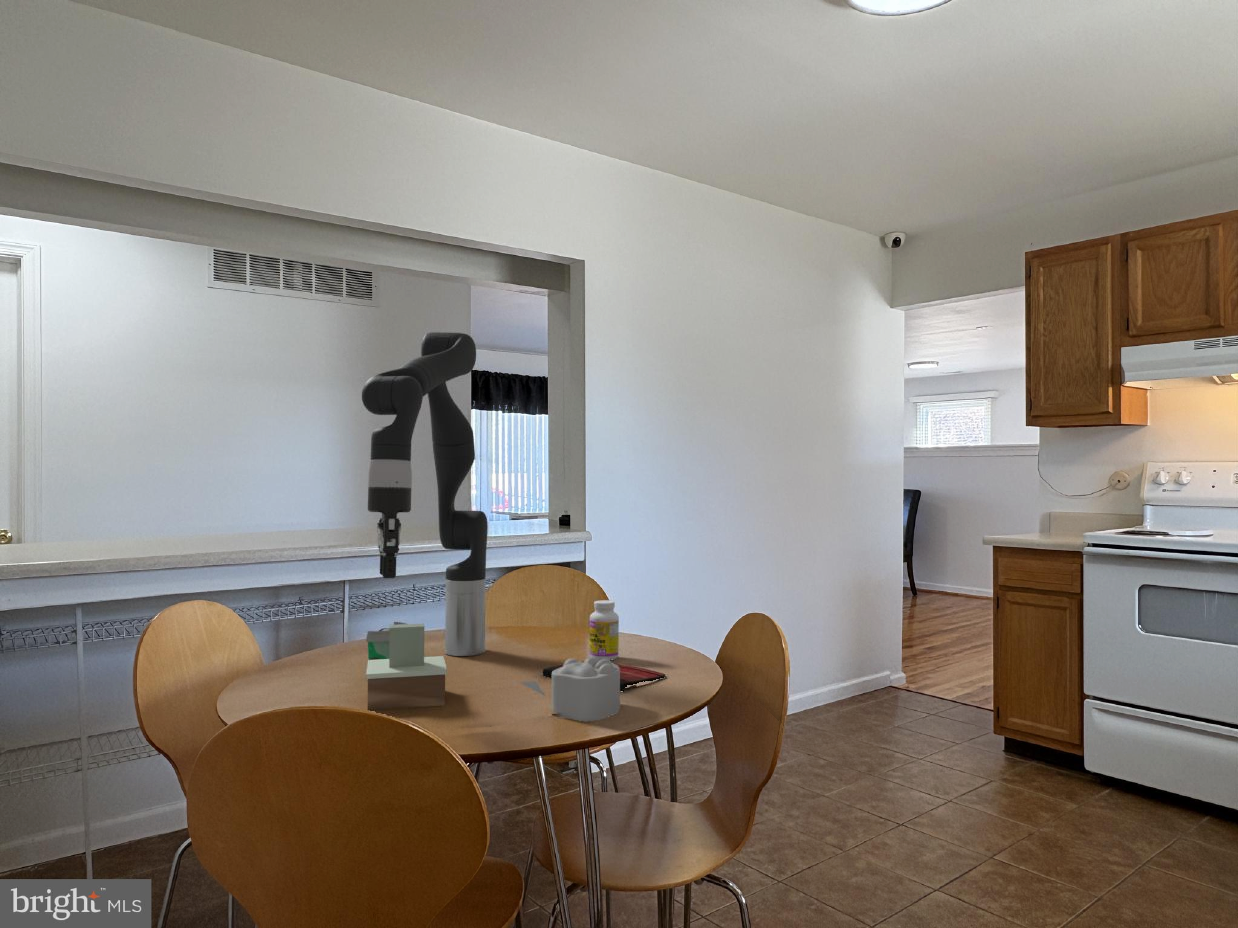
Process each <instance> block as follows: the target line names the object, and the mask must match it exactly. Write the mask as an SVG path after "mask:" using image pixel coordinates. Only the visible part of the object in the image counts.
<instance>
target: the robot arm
mask: <svg viewBox="0 0 1238 928" xmlns="http://www.w3.org/2000/svg"><path fill="white" fill-rule="evenodd" d="M421 340H422V341H421V345H420V347H421V348H420V356H418V357H416V358H413V359H411V360H409V361H407V362H406V363H404V364H403V365H401V366H400V367H399V368H396V369H393V370H391V369H390V370H388V371H385V372H381V373H378V374H375V375H373V376H371V377H370V378H369V379H367V381H366V382H365V384H364V385H363V387H362V390H361V400H362V401H361V402H362V404H363V406H364V408H365V409H366V410H367V411H368V412H369V413H371V414H373V415H379V416H391V415H392V416H395V418H394V420H393V422H392V423H391V424H389V425H386V426H382V427H379V428H376V429H374V430H373V431H372V433H371V439H370V463H369V470H368V483H367V484H368V486H367V487H368V488H367V489H368V491H367V511H368V512H370V513H380V514H381V517H380V518H379V521H378V522H377V523H376V532H377V539H376V540H377V546H378V547H377V548H378V554H379V574H380V575H381V576H382V578H384V579H395V578H396V575H397V557H398V555H399V551H400V548H399V546H400V543H401V530H402V523H401V521H400V517H398V514H399V513H410V512H411V511H412V486H413V485H412V483H413V481H412V479H413V477H412V476H413V471H412V462H411V461H412V439H413V435H414V431H415V428H416V423H417V420H418V417H419V414H420V411H421V408H422V404H423V398H424V397H425V396H427V399H428V405H429V415H430V425H431V426H430V428H431V441H432V442H431V443H432V451H433V460H434V467H435V476H436V482H437V483H436V485H437V496H438V497H437V502H438V504H437V506H438V507H437V508H438V509H437V510H438V534H439V541H440V545H442V546H441V547H443V548H444V549H445V550H451V551H452V550H454V551H455V550H456V551H458V550H462V551H464V550H465V551H466V550H467V551H470V554H469V556H468V557H467V558H466V559H464V560H462V561H459V562H458V563H455V564H451V565H449V566H447V568H446V570H445V609H444V610H445V611H444V612H445V616H444V617H445V618H444V619H445V622H444V623H445V624H444V625H445V630H444V631H445V632H444V633H445V634H444V635H445V636H444V641H445V642H444V652H445V654H446V655H449V656H454V657H467V656H468V657H469V656H476V655H481V654H484V653H485V652H486V576H487V575H486V570H487V545H488V531H489V530H488V527H489V526H488V519H487V517H488V516H487V514H485V512H484V511H482V510H456V509H455V500H456V496H457V494H458V491H459V489H460V487H461V486H462V484H463V482H464V480H465V479H466V477H467V476H468V474H469V473H470V470H471V468H473V467H472V466H473V464H474V462H475V460H476V451H475V449H476V448H475V437H474V431H473V430H474V429H473V428H472V426H471V424H470V421H469V420H468V419H467V417H466V416H465V414H463V412H462V410H461V409H460V408H459V407H458V405H457V403H455V401H454V399H453V397H452V396H451V393H450V392H449V389H448V386H447V382H449V381H452V380H454V379H456V378H458V377H460V376H465V375H468V374H469V373H471V371H472V370H473V369H474V368H475V365H476V361H477V348H476V343H475V341H474V339H473V337H472V336H470V335H469V334H467V333H463V332H440V331H439V332H438V331H437V332H434V331H433V332H427V333H425V334H424V336H423V338H422V339H421Z"/></svg>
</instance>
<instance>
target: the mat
mask: <svg viewBox="0 0 1238 928" xmlns="http://www.w3.org/2000/svg"><path fill="white" fill-rule="evenodd" d="M519 683H520V684H522V685H524V686H526V687H527V688H529V689H531V690H533V691H535V692H536V693H538V694H541V695H543V696H545V697H547V695H546V694H545V692H544V691H543V690H542V688H541V687H540V686H539V684H538V683H537V681H535V680H534V681H533V680H532V681H519Z"/></svg>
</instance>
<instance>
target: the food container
mask: <svg viewBox="0 0 1238 928" xmlns="http://www.w3.org/2000/svg"><path fill="white" fill-rule="evenodd" d="M400 624H408V623H407V622H403V621H393V625H400ZM365 642H366V643H367V653H368V655H367V656H368V660H378V659H389V646H390V627H386V628H385V627H383V628H381V629H379V630H367V634H366V639H365Z"/></svg>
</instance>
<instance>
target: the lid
mask: <svg viewBox="0 0 1238 928" xmlns="http://www.w3.org/2000/svg"><path fill="white" fill-rule="evenodd" d="M389 628H390V646H389V659H378V660H369V659H368V660H367V666H366V673H365V679H366V680H368V679H375V678H392V677H409V676H426V675H444V674H445V675H448V667H447V665H446V661H445V657H444V656H443V655H440V656H439V655H437V656H425V624H424V623H407V624H400V625H394V624H389Z"/></svg>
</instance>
